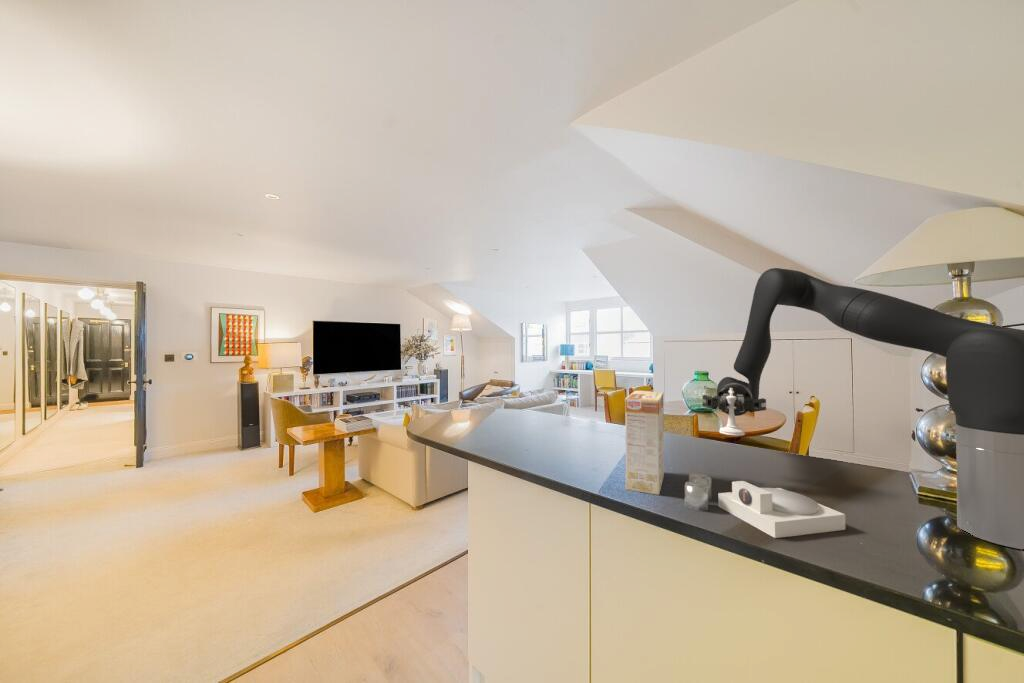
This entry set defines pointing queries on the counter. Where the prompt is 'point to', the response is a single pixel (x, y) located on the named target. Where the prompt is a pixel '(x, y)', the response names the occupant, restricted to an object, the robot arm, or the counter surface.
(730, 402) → the chess piece
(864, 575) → the counter surface
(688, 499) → the spacer
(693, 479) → the spacer
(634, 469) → the coffeecake box
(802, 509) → the scale
